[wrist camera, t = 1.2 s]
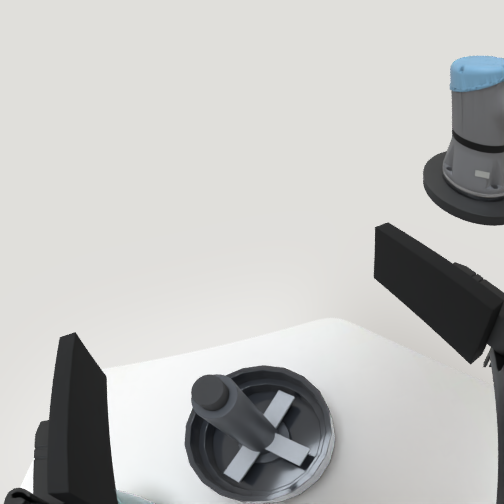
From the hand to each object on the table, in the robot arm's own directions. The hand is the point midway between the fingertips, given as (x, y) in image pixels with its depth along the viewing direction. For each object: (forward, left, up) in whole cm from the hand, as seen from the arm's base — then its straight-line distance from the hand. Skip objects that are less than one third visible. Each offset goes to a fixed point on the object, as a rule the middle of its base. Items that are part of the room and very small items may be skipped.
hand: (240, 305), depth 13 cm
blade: (+4, -4, -25) cm, 26 cm away
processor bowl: (+4, -4, -26) cm, 27 cm away
